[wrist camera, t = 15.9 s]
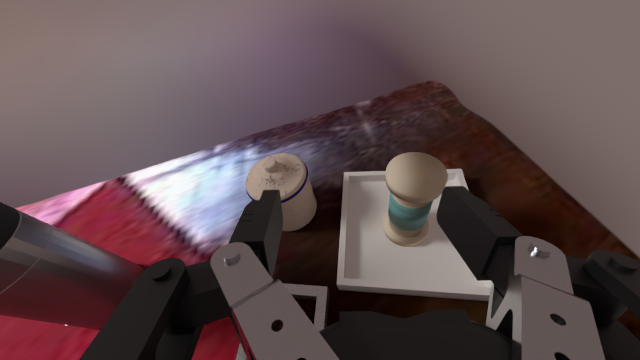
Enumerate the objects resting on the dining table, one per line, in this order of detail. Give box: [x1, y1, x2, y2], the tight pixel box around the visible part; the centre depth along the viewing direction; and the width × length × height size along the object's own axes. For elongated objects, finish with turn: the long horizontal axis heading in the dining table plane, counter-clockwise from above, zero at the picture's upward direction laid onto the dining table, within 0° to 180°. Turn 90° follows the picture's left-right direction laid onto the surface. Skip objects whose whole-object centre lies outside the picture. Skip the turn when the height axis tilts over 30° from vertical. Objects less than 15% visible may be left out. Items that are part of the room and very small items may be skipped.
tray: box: [337, 169, 493, 301], centre depth 33 cm, size 18×18×2 cm
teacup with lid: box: [246, 153, 317, 231], centre depth 36 cm, size 12×9×12 cm
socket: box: [236, 283, 330, 360], centre depth 28 cm, size 10×10×2 cm
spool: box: [383, 152, 448, 247], centre depth 29 cm, size 6×6×12 cm
